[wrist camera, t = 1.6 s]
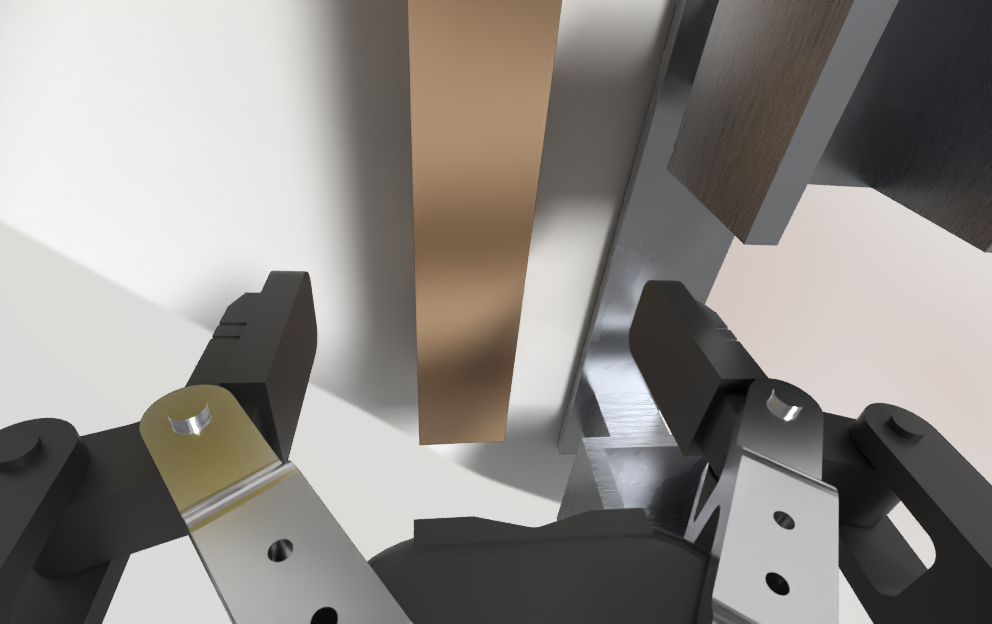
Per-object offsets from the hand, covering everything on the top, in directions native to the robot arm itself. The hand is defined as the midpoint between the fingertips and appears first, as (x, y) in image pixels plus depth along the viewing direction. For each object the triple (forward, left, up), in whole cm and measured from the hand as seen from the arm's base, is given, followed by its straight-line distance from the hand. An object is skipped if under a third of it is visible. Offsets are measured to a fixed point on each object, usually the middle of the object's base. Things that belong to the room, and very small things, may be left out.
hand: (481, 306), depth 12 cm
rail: (0, 0, -9) cm, 9 cm away
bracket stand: (+4, +9, -8) cm, 13 cm away
